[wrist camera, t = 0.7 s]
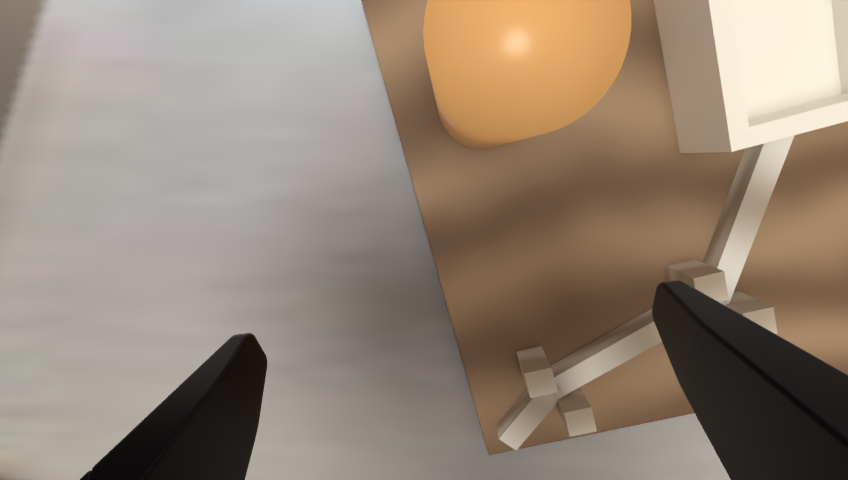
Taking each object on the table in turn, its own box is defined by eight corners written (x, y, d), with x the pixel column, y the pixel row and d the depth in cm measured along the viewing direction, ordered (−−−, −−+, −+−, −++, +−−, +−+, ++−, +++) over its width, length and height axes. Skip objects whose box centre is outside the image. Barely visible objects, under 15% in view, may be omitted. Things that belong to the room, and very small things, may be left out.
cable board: (870, 364, 24) (940, 398, 20) (487, 444, 26) (493, 486, 23) (815, -144, 20) (893, -207, 16) (364, 5, 22) (348, -24, 19)
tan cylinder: (536, 135, 22) (649, 104, 9) (450, 159, 22) (452, 159, 10) (515, 45, 21) (609, -116, 9) (427, 72, 21) (398, -45, 9)
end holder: (851, 107, 21) (945, 94, 17) (680, 153, 21) (731, 151, 18) (832, -72, 19) (930, -131, 15) (651, -15, 20) (699, -57, 16)
